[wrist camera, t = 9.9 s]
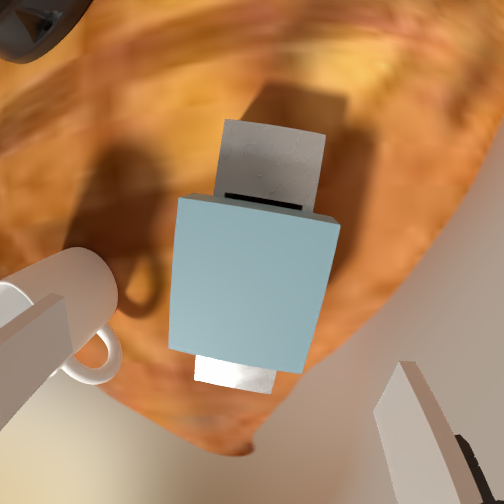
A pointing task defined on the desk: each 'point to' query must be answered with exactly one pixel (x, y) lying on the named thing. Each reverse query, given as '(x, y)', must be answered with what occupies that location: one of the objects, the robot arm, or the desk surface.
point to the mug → (70, 304)
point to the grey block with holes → (269, 187)
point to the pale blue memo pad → (248, 280)
